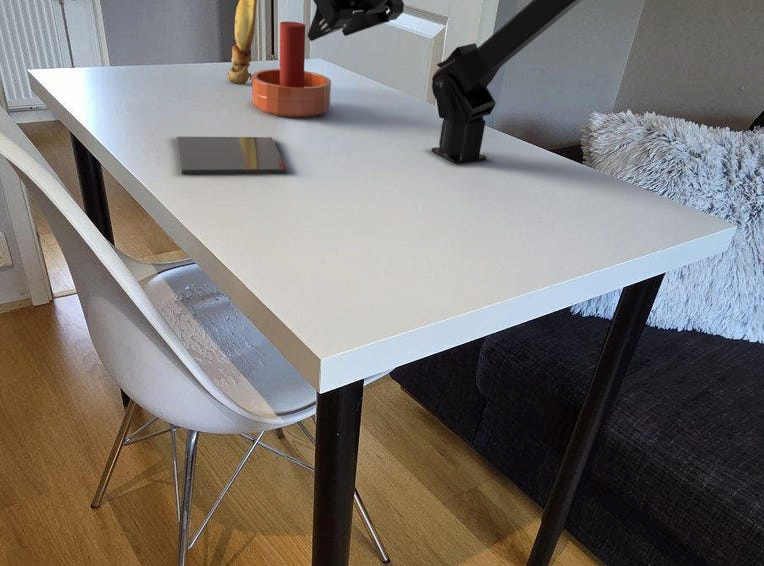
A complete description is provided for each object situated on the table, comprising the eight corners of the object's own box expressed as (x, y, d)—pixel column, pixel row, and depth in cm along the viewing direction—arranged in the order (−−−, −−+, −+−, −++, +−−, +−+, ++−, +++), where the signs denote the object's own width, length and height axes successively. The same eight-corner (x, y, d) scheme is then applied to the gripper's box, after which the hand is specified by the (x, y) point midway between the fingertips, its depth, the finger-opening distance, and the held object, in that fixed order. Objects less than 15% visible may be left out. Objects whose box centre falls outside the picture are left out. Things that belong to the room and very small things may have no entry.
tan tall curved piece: (261, 88, 127) (260, -31, 116) (234, 89, 125) (230, -33, 114) (251, 79, 132) (249, -36, 121) (225, 79, 130) (221, -38, 119)
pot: (343, 116, 117) (345, 86, 114) (272, 121, 111) (272, 90, 108) (307, 95, 126) (308, 67, 123) (240, 99, 120) (239, 70, 117)
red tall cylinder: (307, 106, 118) (309, 26, 110) (285, 108, 116) (286, 26, 108) (296, 100, 120) (298, 21, 113) (275, 101, 118) (275, 21, 111)
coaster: (271, 140, 102) (271, 137, 102) (287, 173, 91) (287, 169, 91) (177, 140, 98) (176, 136, 98) (181, 174, 87) (181, 169, 87)
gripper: (396, -81, 103) (335, -12, 114) (322, -86, 90) (261, -7, 100) (432, -16, 104) (369, 47, 115) (365, -11, 91) (300, 59, 102)
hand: (327, 35), depth 108 cm, fingers open, 9 cm apart
